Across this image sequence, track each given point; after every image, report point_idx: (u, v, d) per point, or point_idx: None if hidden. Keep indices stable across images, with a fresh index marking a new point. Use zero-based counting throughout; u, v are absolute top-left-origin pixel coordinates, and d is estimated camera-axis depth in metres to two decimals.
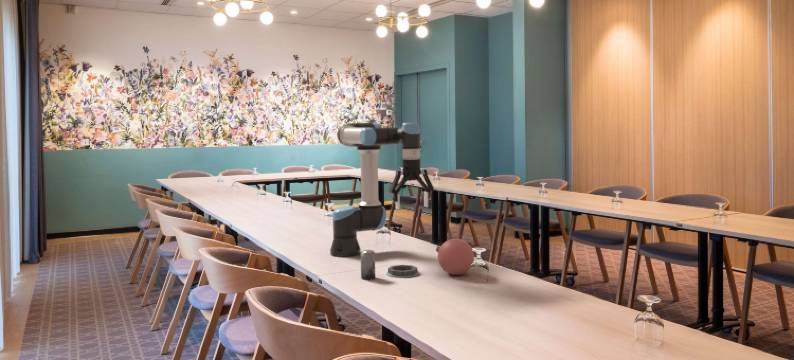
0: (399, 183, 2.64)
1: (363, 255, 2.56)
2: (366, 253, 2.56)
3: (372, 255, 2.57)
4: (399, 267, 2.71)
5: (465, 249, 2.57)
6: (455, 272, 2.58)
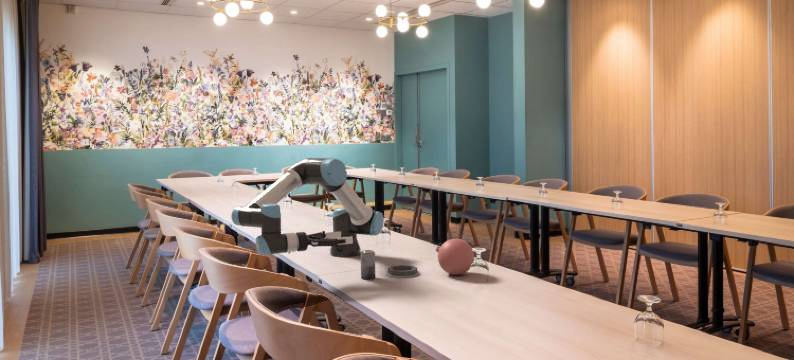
0: None
1: (363, 255, 2.56)
2: (366, 253, 2.56)
3: (372, 255, 2.57)
4: (399, 267, 2.71)
5: (465, 249, 2.57)
6: (455, 272, 2.58)
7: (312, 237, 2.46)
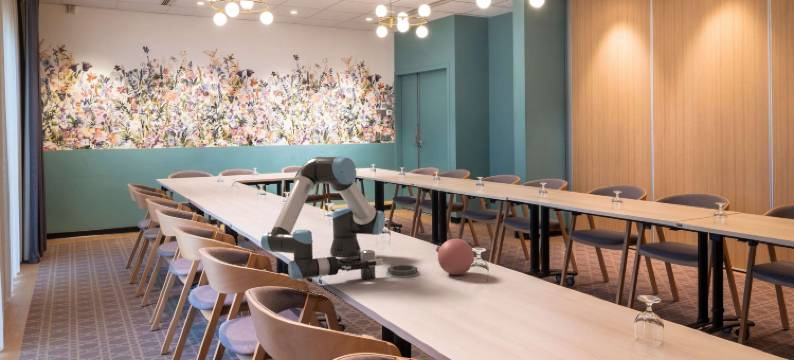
0: None
1: (363, 255, 2.56)
2: (366, 253, 2.56)
3: (372, 255, 2.57)
4: (399, 267, 2.71)
5: (465, 249, 2.57)
6: (455, 272, 2.58)
7: (343, 261, 2.52)
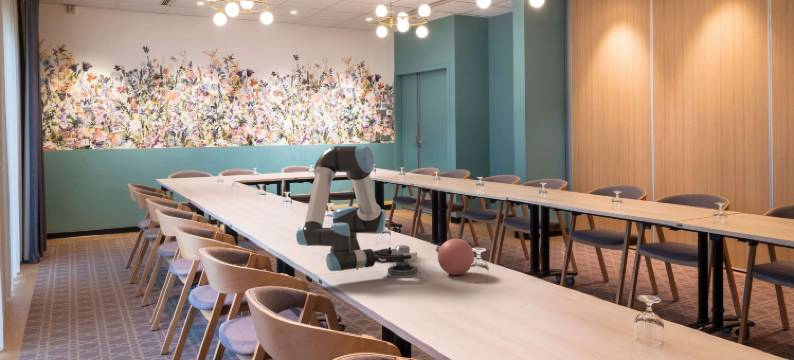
0: None
1: (398, 250, 2.63)
2: (401, 248, 2.63)
3: (407, 250, 2.63)
4: None
5: (465, 249, 2.57)
6: (455, 272, 2.58)
7: (379, 254, 2.59)
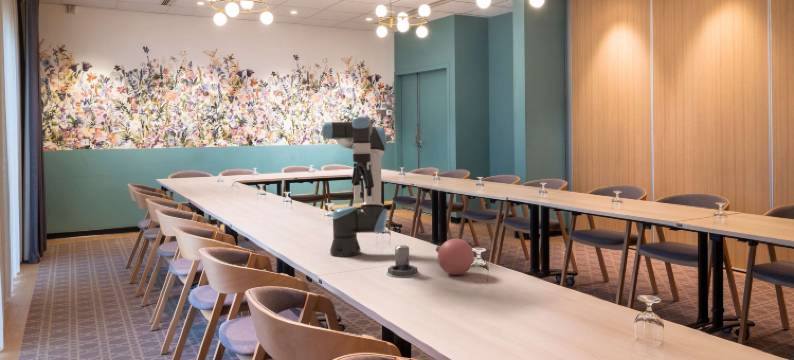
0: None
1: (398, 250, 2.63)
2: (401, 248, 2.63)
3: (406, 250, 2.63)
4: None
5: (465, 249, 2.57)
6: (455, 272, 2.58)
7: None
